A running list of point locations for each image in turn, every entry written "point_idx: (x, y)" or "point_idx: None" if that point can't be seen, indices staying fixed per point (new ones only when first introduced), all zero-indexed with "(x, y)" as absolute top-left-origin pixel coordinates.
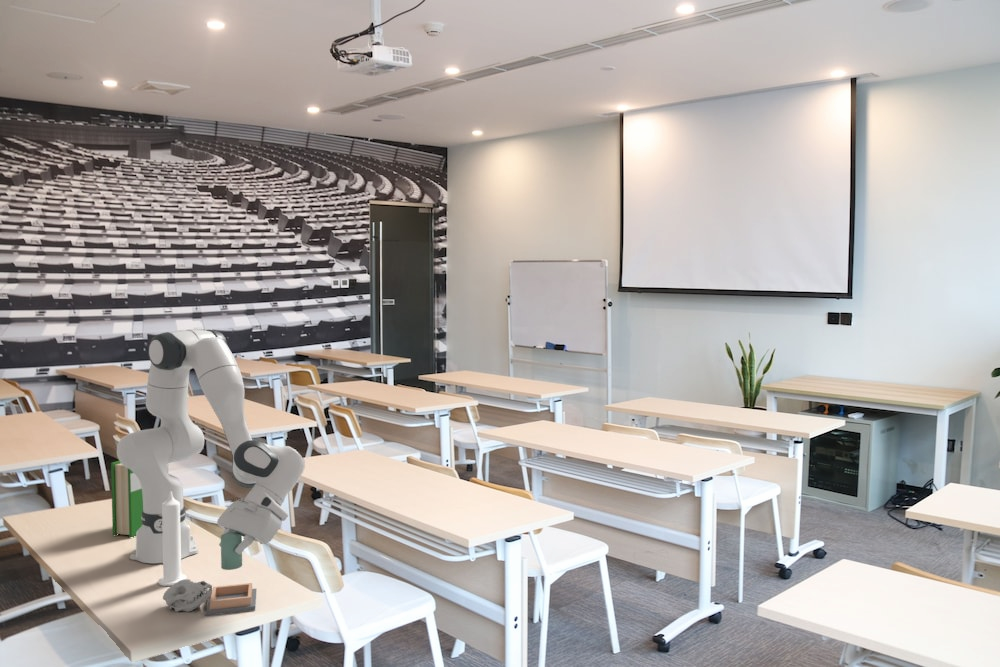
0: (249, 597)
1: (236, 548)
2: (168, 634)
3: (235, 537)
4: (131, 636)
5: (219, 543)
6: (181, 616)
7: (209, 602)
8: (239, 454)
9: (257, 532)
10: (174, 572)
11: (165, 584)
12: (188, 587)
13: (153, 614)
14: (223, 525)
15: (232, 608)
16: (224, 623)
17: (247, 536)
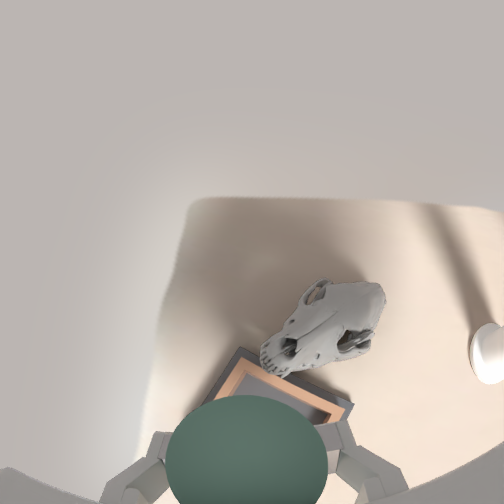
0: None
1: (161, 440)
2: (211, 252)
3: (167, 460)
4: (258, 206)
5: (347, 422)
6: (281, 306)
7: (291, 379)
8: None
9: (8, 488)
10: (494, 346)
11: (476, 332)
12: (312, 311)
13: (337, 265)
14: (447, 474)
15: (203, 404)
16: (164, 358)
17: (107, 501)
